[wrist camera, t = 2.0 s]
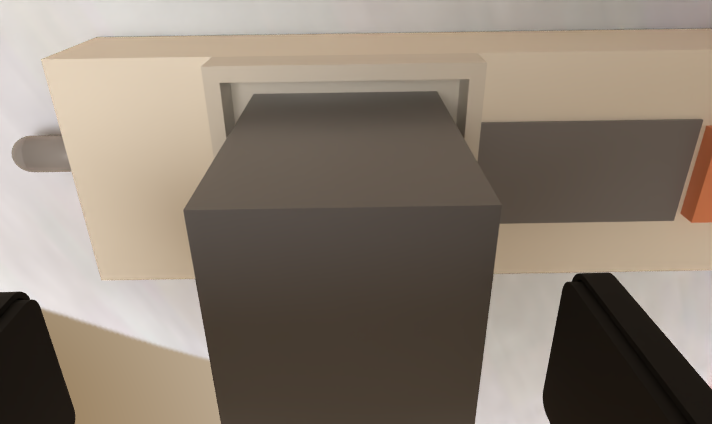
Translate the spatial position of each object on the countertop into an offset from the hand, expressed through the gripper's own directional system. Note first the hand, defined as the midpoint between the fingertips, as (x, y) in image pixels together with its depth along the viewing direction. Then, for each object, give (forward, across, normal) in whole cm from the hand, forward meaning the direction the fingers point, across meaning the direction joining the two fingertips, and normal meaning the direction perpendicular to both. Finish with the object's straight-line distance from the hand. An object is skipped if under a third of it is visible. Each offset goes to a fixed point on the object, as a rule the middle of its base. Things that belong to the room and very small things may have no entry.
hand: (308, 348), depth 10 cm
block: (+7, -1, 0) cm, 7 cm away
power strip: (+10, -1, 0) cm, 11 cm away
